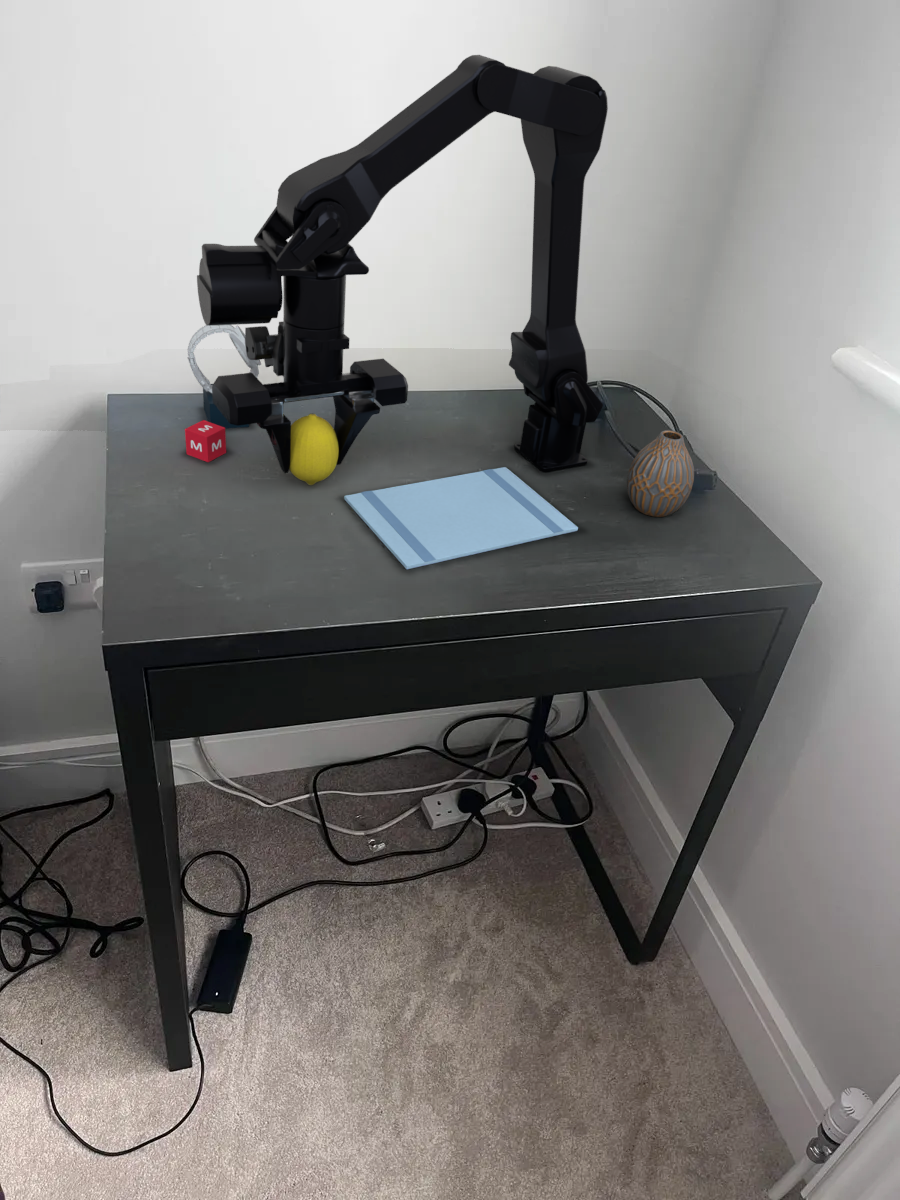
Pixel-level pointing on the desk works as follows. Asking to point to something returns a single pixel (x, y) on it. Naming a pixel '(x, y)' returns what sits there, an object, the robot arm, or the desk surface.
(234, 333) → the watch
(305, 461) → the lemon
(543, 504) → the cloth
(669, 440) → the vase
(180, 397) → the desk surface
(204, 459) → the red letter cube
